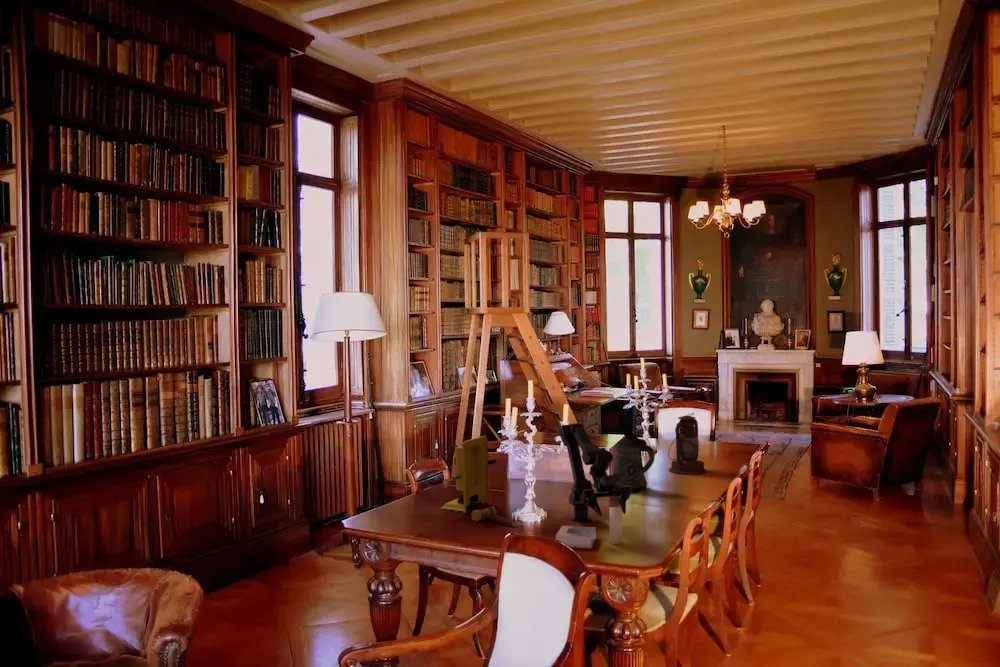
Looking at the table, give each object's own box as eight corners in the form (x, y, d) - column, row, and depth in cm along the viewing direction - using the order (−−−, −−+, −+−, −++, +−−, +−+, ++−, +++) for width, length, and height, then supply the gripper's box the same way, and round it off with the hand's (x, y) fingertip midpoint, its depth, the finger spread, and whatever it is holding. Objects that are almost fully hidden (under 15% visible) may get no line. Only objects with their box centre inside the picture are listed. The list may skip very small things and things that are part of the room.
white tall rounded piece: (610, 540, 281) (609, 506, 281) (623, 541, 280) (622, 506, 280) (609, 544, 277) (608, 509, 277) (621, 544, 276) (621, 509, 276)
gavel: (525, 517, 305) (506, 522, 298) (525, 528, 305) (506, 534, 298) (489, 504, 320) (471, 509, 313) (489, 515, 320) (471, 520, 314)
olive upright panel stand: (471, 496, 353) (470, 430, 352) (498, 500, 346) (496, 432, 345) (431, 513, 326) (429, 441, 325) (458, 517, 319) (456, 443, 318)
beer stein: (608, 485, 369) (607, 432, 368) (648, 484, 370) (647, 431, 369) (614, 493, 353) (613, 438, 352) (657, 492, 353) (656, 437, 353)
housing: (562, 536, 288) (562, 525, 288) (595, 538, 285) (595, 527, 285) (556, 546, 276) (555, 535, 276) (591, 548, 273) (590, 537, 273)
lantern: (684, 465, 411) (683, 409, 410) (714, 471, 396) (713, 412, 396) (661, 471, 399) (660, 412, 398) (691, 476, 384) (690, 416, 384)
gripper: (582, 467, 283) (594, 504, 272) (629, 463, 288) (643, 500, 277) (575, 485, 291) (586, 521, 280) (621, 481, 295) (634, 517, 285)
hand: (613, 514), depth 280 cm, fingers open, 9 cm apart
